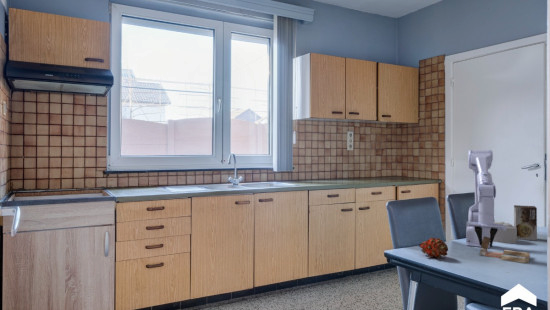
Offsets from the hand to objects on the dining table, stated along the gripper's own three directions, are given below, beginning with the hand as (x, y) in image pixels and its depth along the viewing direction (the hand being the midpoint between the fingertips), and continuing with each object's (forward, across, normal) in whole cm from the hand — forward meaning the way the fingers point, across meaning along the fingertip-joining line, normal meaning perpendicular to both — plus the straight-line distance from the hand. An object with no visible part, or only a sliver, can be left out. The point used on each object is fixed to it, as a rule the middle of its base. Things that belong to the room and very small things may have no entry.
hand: (485, 245), depth 164 cm
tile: (+4, +3, 0) cm, 5 cm away
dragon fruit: (+4, -17, -17) cm, 24 cm away
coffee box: (+4, +12, +45) cm, 47 cm away
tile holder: (+4, +10, 0) cm, 11 cm away
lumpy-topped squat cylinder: (+4, +2, +34) cm, 34 cm away
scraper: (+3, -1, 0) cm, 4 cm away
